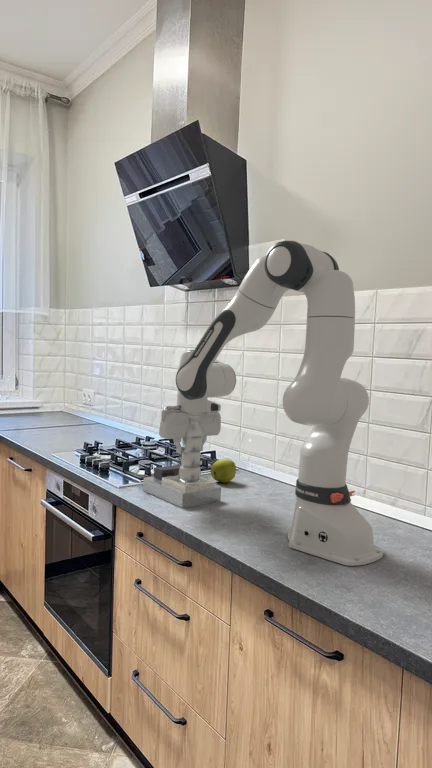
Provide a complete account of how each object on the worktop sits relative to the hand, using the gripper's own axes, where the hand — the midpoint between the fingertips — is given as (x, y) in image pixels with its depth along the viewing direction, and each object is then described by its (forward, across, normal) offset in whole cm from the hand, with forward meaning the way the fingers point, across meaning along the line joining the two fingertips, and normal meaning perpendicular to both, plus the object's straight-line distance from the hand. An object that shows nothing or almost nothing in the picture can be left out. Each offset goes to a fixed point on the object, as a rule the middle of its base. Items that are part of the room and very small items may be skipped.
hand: (189, 452), depth 156 cm
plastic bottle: (+9, 0, -1) cm, 9 cm away
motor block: (+14, 0, +5) cm, 14 cm away
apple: (+14, +22, +9) cm, 28 cm away
